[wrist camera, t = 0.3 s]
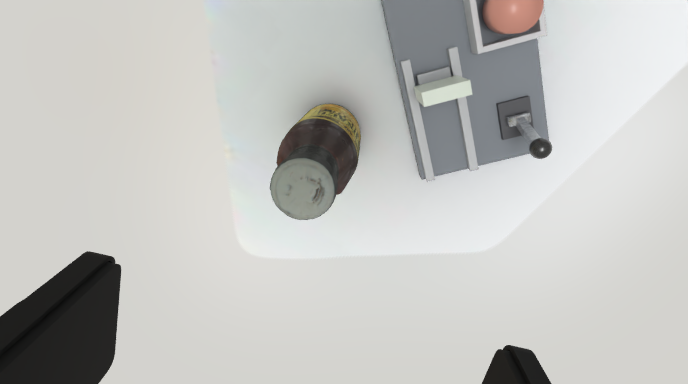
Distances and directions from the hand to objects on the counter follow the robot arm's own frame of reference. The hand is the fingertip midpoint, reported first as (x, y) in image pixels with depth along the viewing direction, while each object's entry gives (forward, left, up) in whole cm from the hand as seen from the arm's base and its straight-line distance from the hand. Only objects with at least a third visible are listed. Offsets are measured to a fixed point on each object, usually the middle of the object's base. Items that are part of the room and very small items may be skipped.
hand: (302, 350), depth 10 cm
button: (-6, +16, -32) cm, 37 cm away
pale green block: (-1, +9, -34) cm, 35 cm away
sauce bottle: (+1, -2, -36) cm, 36 cm away
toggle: (+4, +16, -33) cm, 37 cm away
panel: (-1, +13, -36) cm, 38 cm away
